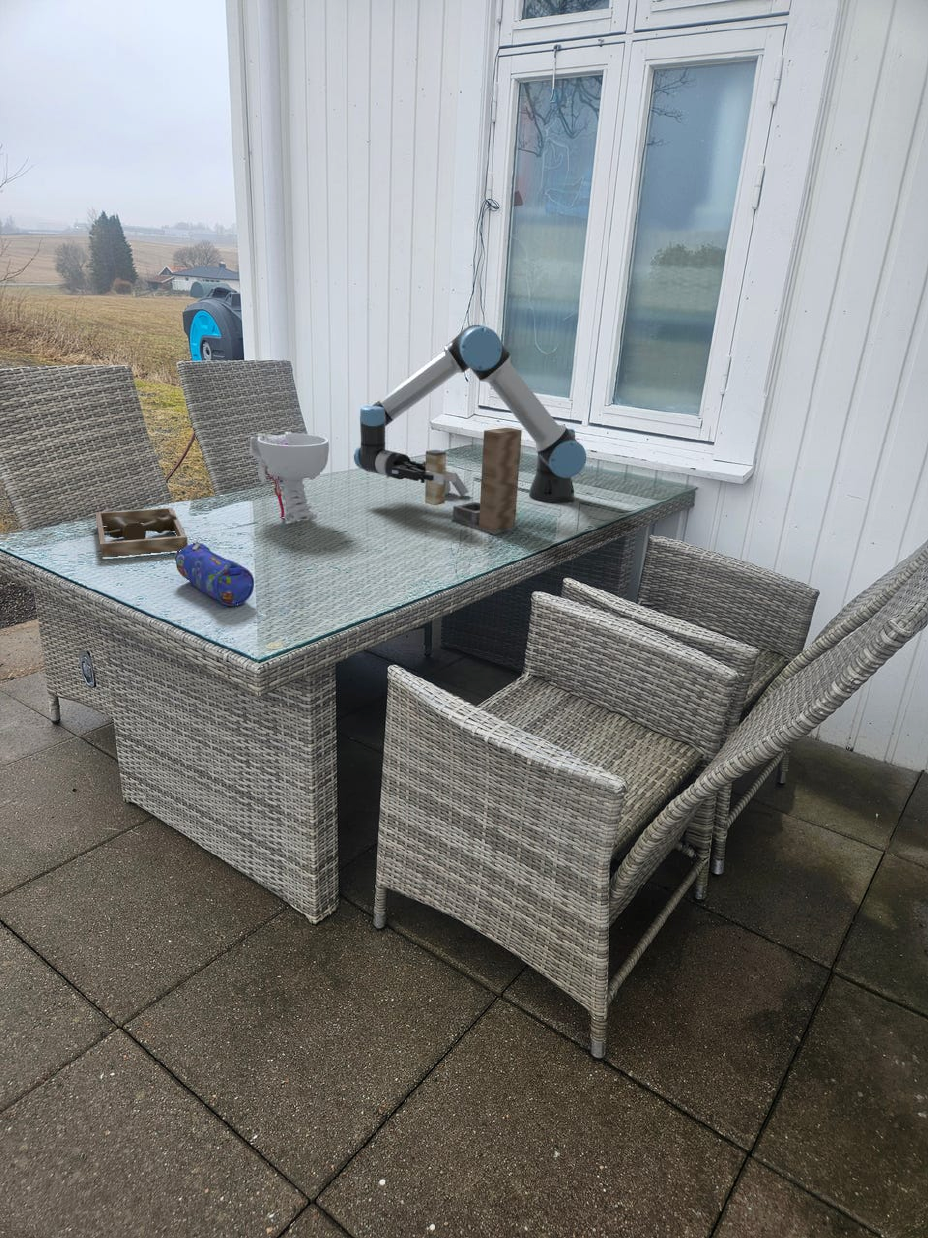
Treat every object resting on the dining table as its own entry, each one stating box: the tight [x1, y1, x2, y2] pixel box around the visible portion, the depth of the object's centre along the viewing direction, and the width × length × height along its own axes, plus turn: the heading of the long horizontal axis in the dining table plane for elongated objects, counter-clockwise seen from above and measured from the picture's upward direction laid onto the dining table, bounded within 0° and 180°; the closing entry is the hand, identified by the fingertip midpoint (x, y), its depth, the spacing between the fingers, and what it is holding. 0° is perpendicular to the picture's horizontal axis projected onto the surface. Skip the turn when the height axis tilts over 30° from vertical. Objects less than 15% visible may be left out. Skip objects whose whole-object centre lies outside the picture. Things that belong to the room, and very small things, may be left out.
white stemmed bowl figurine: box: [248, 431, 330, 523], centre depth 220 cm, size 25×19×23 cm
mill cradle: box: [94, 506, 189, 557], centre depth 199 cm, size 19×29×4 cm, turn 26°
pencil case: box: [173, 540, 255, 607], centre depth 166 cm, size 22×9×10 cm, turn 42°
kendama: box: [104, 514, 178, 541], centre depth 199 cm, size 6×10×20 cm
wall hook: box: [445, 468, 469, 497], centre depth 257 cm, size 8×10×10 cm
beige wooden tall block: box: [424, 449, 447, 506], centre depth 221 cm, size 4×4×15 cm
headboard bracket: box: [451, 427, 523, 536], centre depth 221 cm, size 10×17×28 cm, turn 46°
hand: (448, 478), depth 217 cm, fingers closed on beige wooden tall block, 4 cm apart
